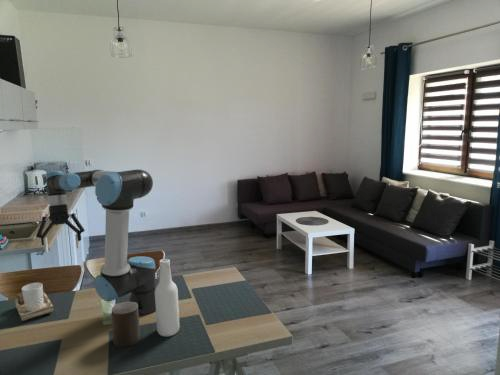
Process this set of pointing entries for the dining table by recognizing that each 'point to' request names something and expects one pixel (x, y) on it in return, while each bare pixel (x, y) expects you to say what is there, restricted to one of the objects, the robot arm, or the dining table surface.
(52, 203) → the robot arm
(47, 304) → the wooden tray
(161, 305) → the alcohol
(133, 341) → the pillar candle
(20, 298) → the walnut block
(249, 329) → the dining table surface
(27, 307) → the white cup
